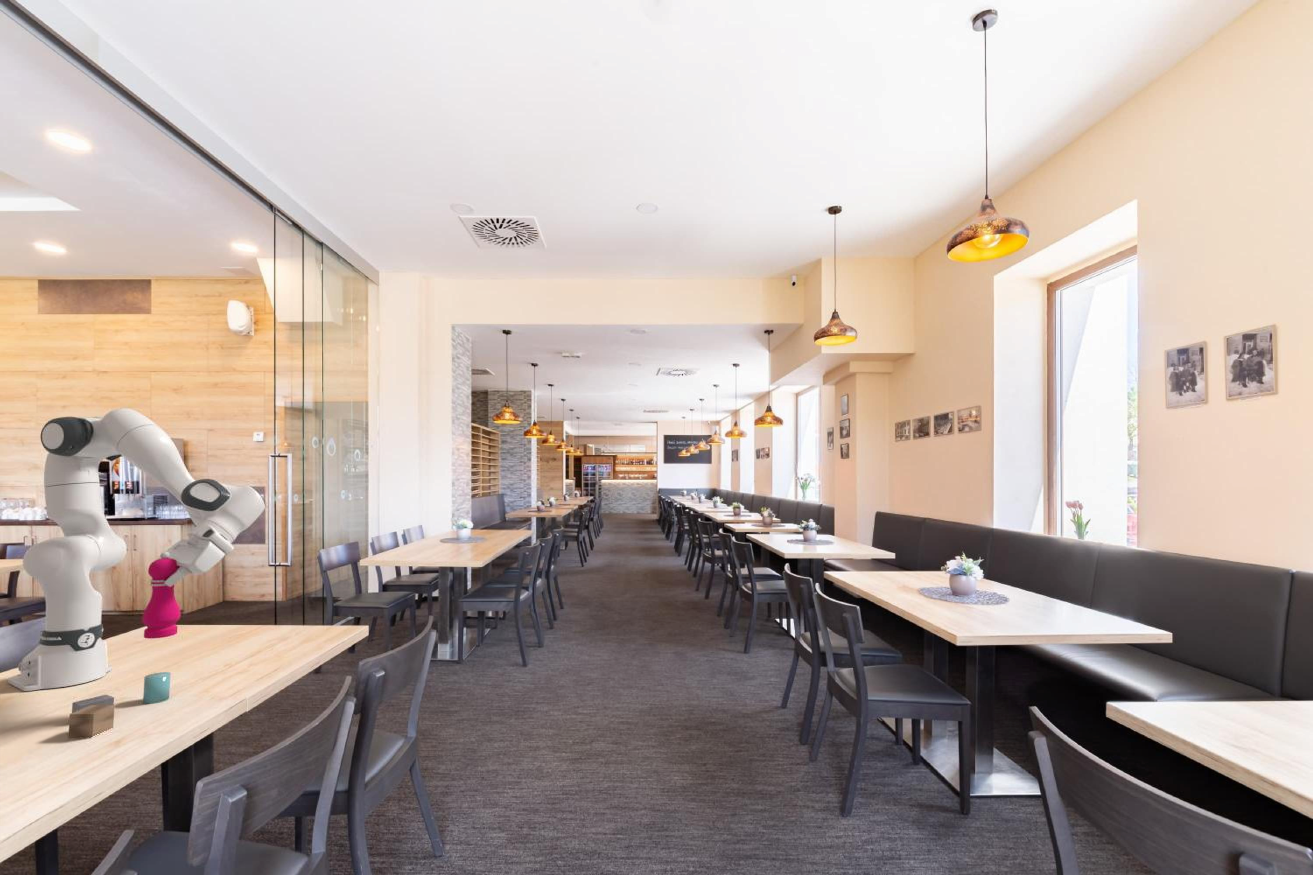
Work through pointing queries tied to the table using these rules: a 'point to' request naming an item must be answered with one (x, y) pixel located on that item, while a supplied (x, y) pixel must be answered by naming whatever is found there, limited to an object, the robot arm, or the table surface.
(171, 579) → the robot arm
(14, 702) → the table surface
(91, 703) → the charcoal block
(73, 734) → the walnut block
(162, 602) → the pepper mill
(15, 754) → the table surface
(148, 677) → the teal glazed cylinder
